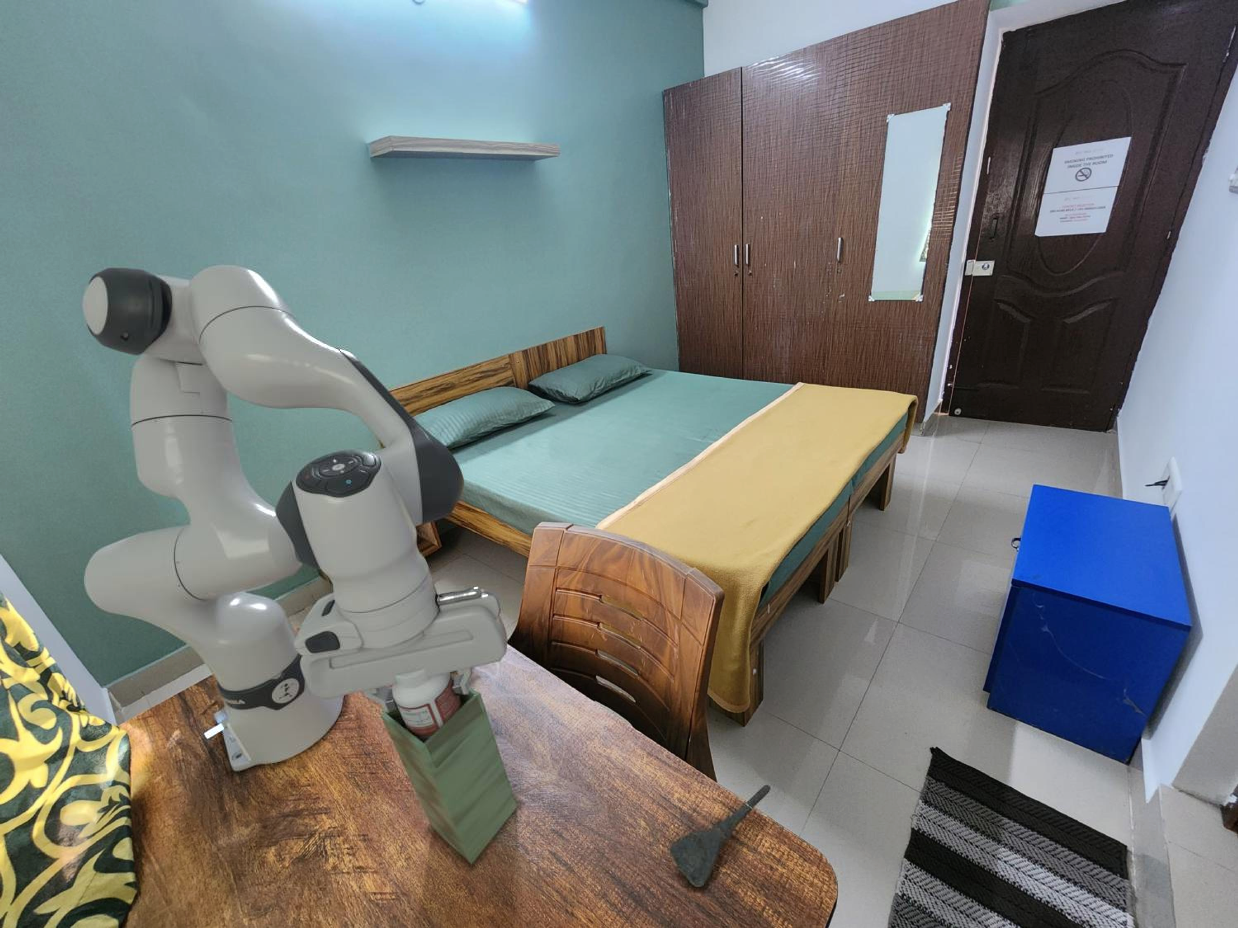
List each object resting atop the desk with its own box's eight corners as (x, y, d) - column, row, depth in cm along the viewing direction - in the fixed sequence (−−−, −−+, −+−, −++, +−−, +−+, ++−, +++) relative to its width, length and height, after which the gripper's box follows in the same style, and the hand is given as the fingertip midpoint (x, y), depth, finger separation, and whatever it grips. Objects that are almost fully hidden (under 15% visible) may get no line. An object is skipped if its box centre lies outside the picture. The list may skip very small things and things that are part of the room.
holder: (432, 828, 67) (380, 715, 57) (478, 776, 72) (438, 666, 63) (471, 864, 62) (422, 748, 53) (517, 806, 68) (480, 692, 59)
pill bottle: (454, 696, 63) (430, 630, 59) (475, 727, 59) (451, 659, 54) (405, 727, 60) (376, 659, 55) (423, 763, 56) (393, 693, 51)
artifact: (665, 851, 61) (693, 895, 58) (667, 847, 60) (695, 891, 57) (753, 770, 68) (782, 806, 65) (756, 765, 67) (785, 801, 64)
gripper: (495, 566, 56) (519, 657, 61) (300, 604, 53) (345, 695, 59) (492, 603, 50) (519, 700, 56) (274, 648, 48) (327, 744, 53)
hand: (428, 698), depth 57 cm, fingers open, 6 cm apart
